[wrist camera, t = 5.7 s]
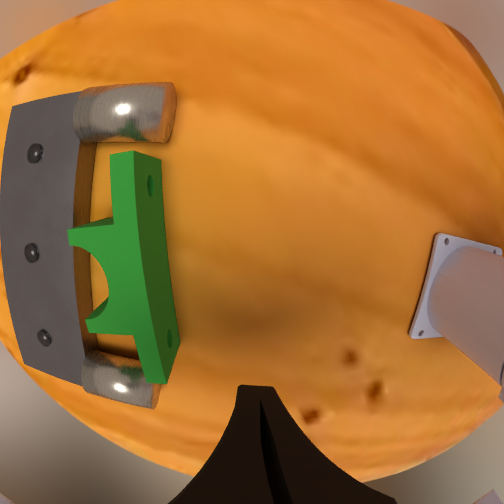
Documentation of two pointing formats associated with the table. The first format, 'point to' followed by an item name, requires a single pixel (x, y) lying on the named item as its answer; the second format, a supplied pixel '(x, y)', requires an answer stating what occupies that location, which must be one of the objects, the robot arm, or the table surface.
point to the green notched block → (135, 264)
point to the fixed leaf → (69, 227)
